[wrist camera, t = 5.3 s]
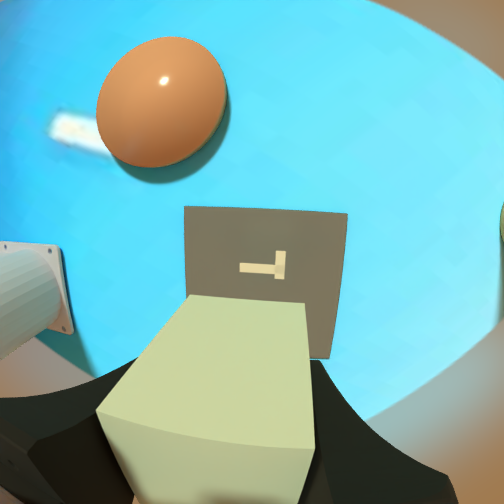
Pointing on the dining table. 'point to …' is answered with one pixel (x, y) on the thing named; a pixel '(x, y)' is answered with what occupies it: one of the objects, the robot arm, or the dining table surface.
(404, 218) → the dining table surface
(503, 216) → the candle
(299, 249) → the brown tile
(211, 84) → the orange disc
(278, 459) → the block
